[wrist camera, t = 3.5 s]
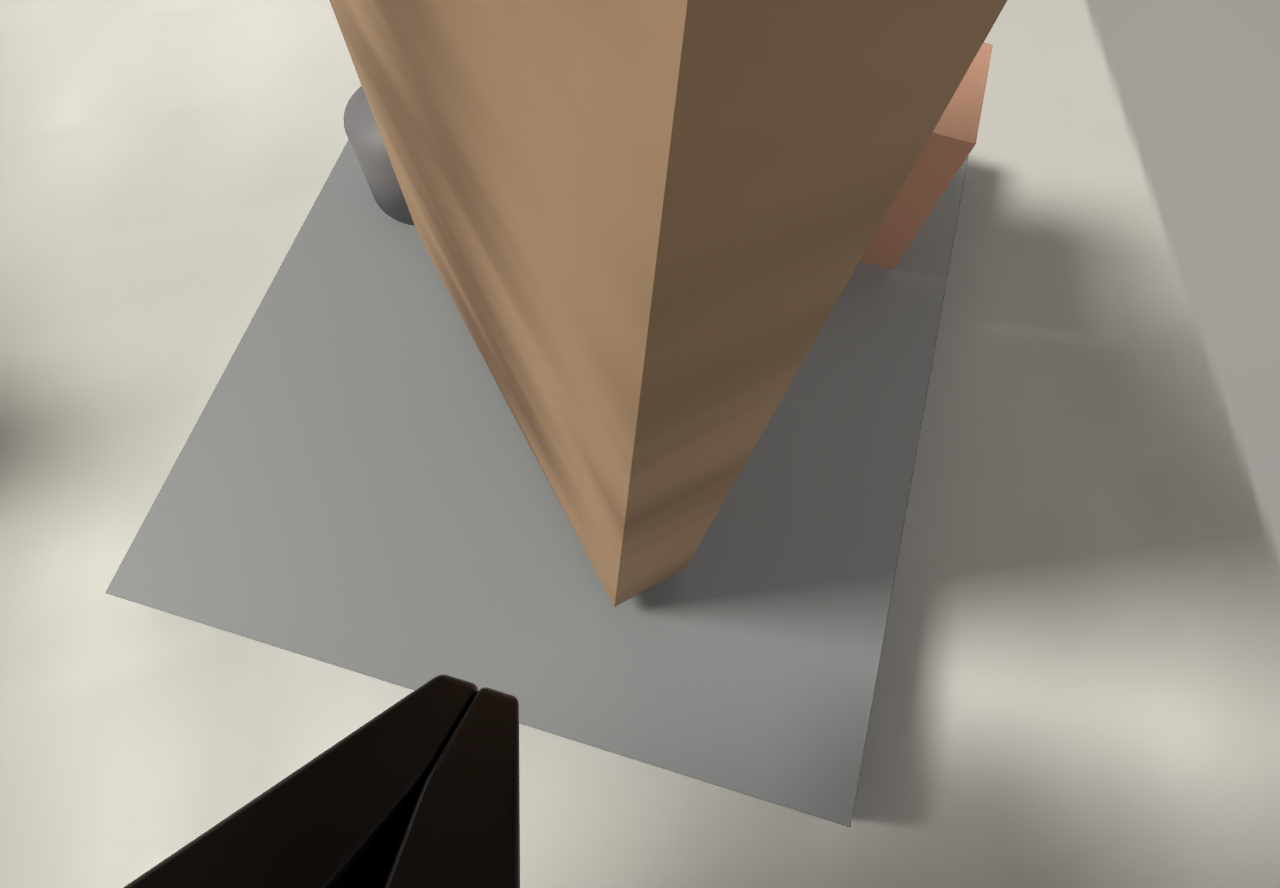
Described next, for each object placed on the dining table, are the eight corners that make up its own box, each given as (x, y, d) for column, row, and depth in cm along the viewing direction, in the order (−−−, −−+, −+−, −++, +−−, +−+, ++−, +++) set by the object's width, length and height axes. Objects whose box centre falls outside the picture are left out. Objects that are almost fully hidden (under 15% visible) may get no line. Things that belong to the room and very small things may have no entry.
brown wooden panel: (418, 234, 16) (-360, -1820, 3) (482, 208, 17) (27, -1760, 3) (614, 606, 14) (886, -1646, 1) (685, 568, 14) (1847, -1495, 1)
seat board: (826, 816, 15) (949, 870, 9) (150, 604, 15) (-78, 546, 10) (947, 169, 20) (1067, -22, 15) (443, 34, 21) (390, -193, 16)
